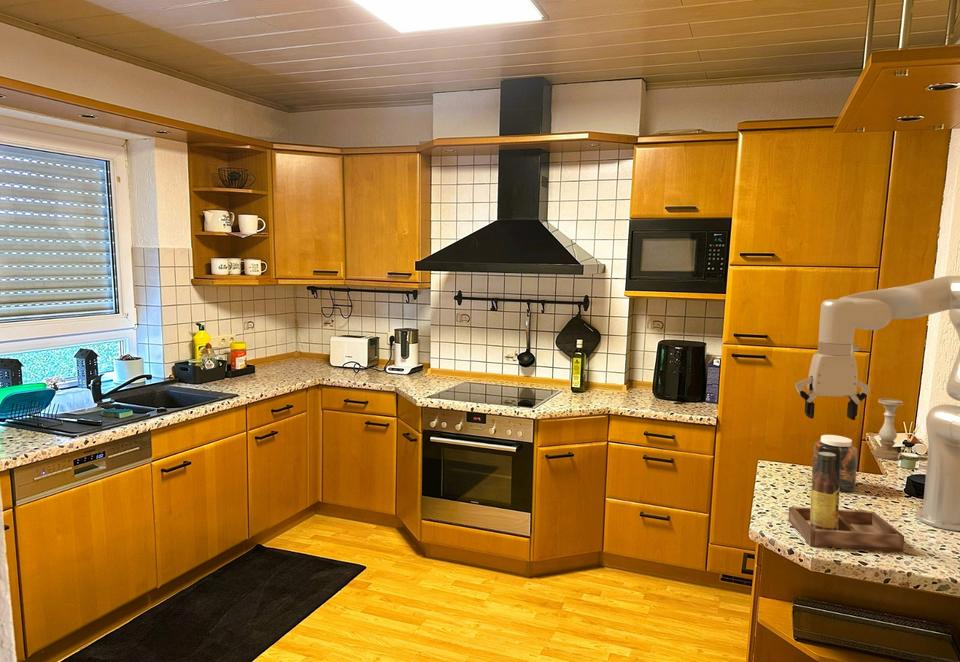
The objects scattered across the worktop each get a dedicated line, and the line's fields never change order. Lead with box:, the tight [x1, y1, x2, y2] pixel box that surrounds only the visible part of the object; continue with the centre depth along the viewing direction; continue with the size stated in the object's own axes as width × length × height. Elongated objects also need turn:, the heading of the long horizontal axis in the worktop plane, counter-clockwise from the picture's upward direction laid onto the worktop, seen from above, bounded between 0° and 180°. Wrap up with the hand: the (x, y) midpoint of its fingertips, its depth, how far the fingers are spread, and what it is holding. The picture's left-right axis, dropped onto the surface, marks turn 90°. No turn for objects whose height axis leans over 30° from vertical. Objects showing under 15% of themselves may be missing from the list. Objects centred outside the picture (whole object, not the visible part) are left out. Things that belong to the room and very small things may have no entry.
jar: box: [811, 434, 858, 493], centre depth 195 cm, size 12×12×15 cm
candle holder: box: [871, 398, 904, 460], centre depth 225 cm, size 9×9×20 cm
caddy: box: [787, 506, 905, 553], centre depth 159 cm, size 21×15×4 cm
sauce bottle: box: [809, 452, 841, 530], centre depth 159 cm, size 7×6×20 cm
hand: (830, 418), depth 157 cm, fingers open, 9 cm apart
